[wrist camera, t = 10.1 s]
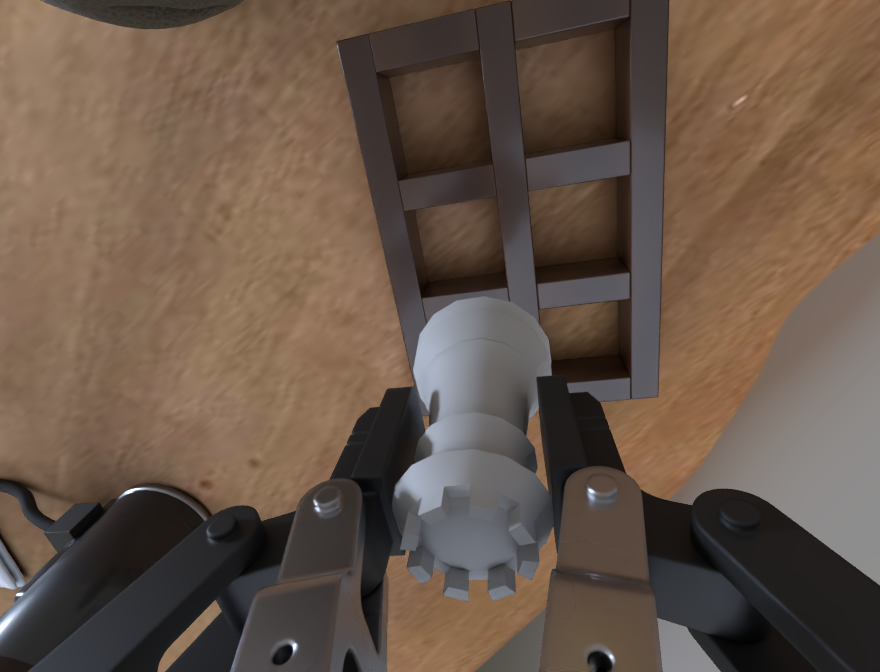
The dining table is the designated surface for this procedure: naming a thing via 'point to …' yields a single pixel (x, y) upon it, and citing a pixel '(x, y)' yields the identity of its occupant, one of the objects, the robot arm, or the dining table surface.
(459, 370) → the rook chess piece
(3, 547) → the white paper booklet
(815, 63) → the dining table surface
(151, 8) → the cantaloupe
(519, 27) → the open grid frame
